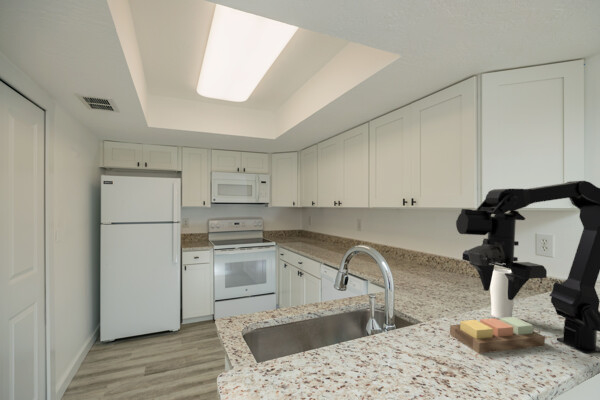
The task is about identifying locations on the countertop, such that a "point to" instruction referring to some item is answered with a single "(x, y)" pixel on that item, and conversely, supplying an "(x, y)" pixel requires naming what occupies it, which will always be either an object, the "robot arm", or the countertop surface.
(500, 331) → the terracotta key
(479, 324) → the ochre key
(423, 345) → the countertop surface
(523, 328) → the sage key
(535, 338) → the brown wooden slotted tray
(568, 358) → the countertop surface
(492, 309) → the white tall cylinder
